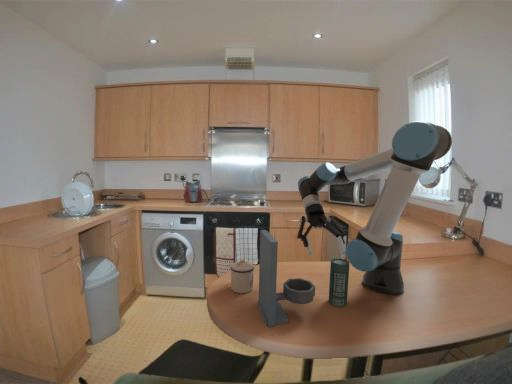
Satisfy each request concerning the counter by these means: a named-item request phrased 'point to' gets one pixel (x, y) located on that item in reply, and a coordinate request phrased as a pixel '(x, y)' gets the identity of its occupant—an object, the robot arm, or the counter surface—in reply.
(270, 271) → the cup bracket
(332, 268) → the can
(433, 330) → the counter surface
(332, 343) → the counter surface
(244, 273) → the teacup with lid
